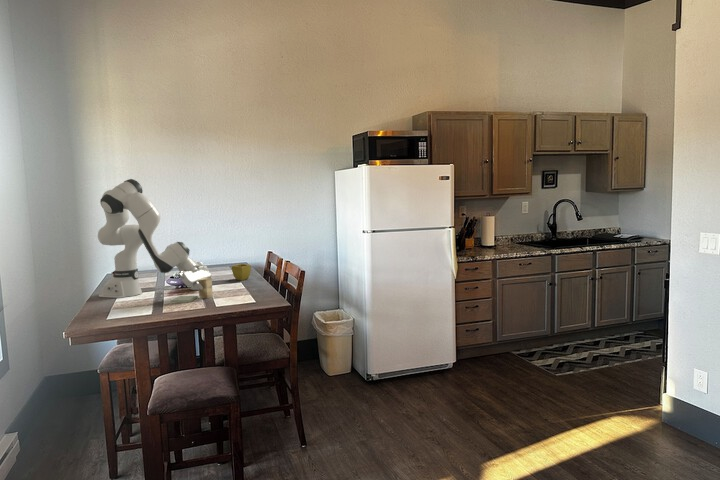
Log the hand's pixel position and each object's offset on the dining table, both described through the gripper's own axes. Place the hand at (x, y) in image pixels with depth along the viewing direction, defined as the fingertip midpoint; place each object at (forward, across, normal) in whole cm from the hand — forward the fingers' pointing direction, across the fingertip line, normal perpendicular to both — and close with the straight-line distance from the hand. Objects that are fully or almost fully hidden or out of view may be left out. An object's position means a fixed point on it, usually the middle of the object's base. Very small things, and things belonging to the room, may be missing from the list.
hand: (206, 287), depth 287 cm
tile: (-3, -7, +10) cm, 13 cm away
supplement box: (-9, +20, +17) cm, 28 cm away
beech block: (+3, 0, +4) cm, 5 cm away
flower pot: (-1, +49, +9) cm, 49 cm away
